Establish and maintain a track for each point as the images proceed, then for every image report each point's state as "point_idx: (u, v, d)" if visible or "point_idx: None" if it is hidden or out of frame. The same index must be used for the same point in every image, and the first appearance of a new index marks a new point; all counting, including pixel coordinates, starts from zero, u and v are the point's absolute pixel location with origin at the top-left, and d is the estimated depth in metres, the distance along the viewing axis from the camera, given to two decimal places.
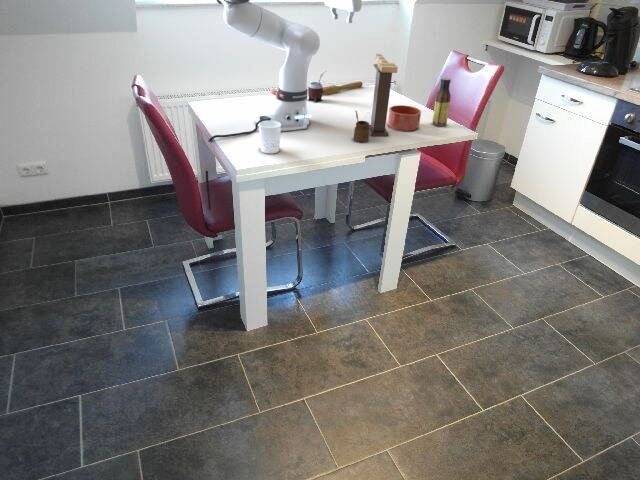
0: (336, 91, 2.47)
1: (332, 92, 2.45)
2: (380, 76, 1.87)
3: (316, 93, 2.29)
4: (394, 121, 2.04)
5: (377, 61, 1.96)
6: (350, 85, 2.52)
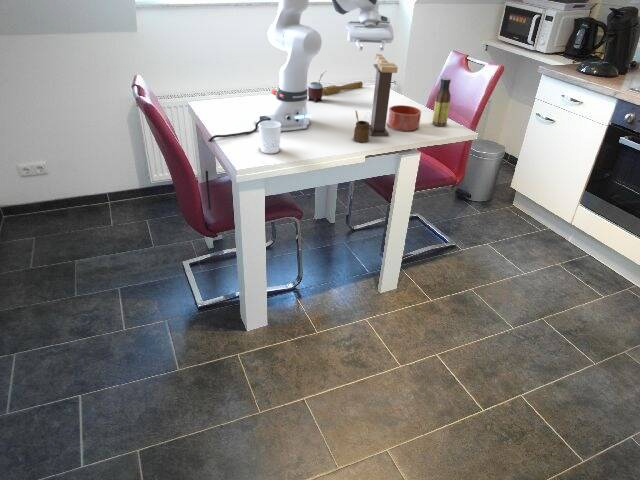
0: (336, 91, 2.47)
1: (332, 92, 2.45)
2: (380, 76, 1.87)
3: (316, 93, 2.29)
4: (394, 121, 2.04)
5: (377, 61, 1.96)
6: (350, 85, 2.52)
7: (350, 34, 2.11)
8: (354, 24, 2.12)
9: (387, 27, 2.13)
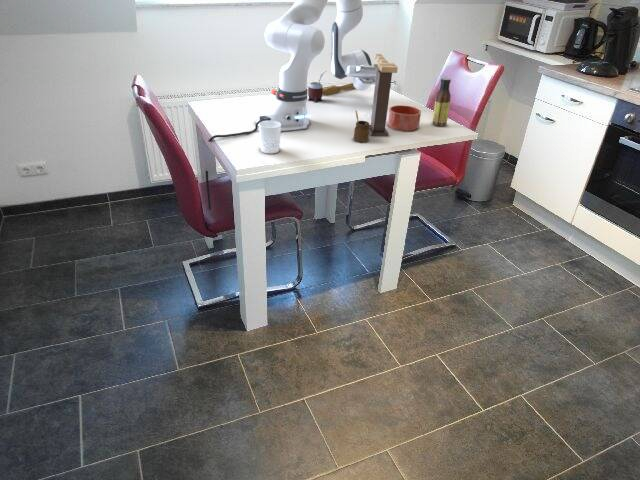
0: (336, 91, 2.47)
1: (332, 92, 2.45)
2: (380, 76, 1.87)
3: (316, 93, 2.29)
4: (394, 121, 2.04)
5: (377, 61, 1.96)
6: (350, 85, 2.52)
7: None
8: None
9: None
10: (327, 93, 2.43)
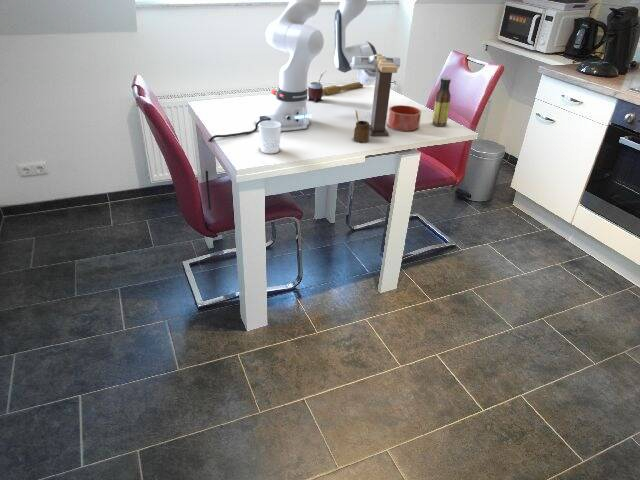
0: (337, 91, 2.46)
1: (333, 92, 2.45)
2: (380, 76, 1.87)
3: (316, 93, 2.29)
4: (394, 121, 2.04)
5: (377, 61, 1.96)
6: (351, 85, 2.52)
7: None
8: None
9: None
10: (327, 93, 2.43)
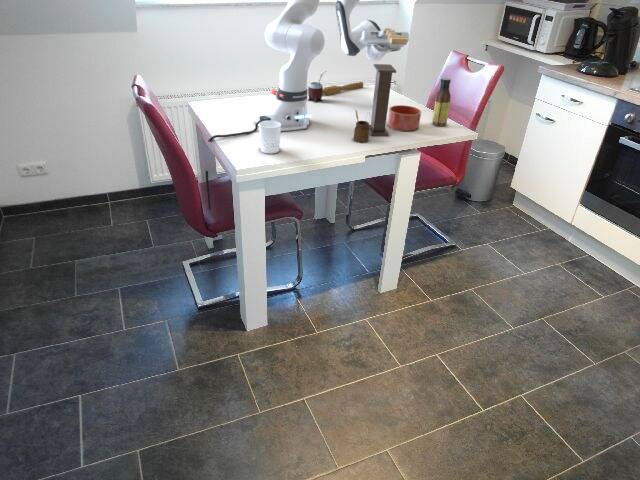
0: (337, 91, 2.46)
1: (333, 92, 2.45)
2: (380, 76, 1.87)
3: (316, 93, 2.29)
4: (394, 121, 2.04)
5: None
6: (351, 85, 2.52)
7: None
8: None
9: None
10: (328, 93, 2.43)
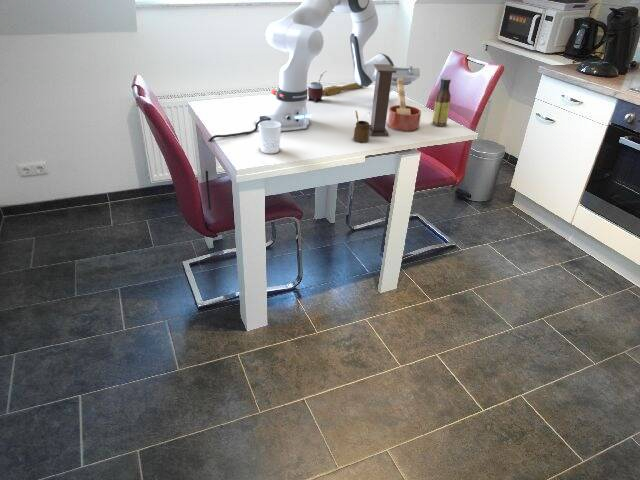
0: (337, 91, 2.46)
1: (333, 93, 2.45)
2: (380, 76, 1.87)
3: (316, 93, 2.29)
4: (394, 121, 2.04)
5: None
6: (351, 85, 2.52)
7: None
8: None
9: None
10: (328, 93, 2.42)
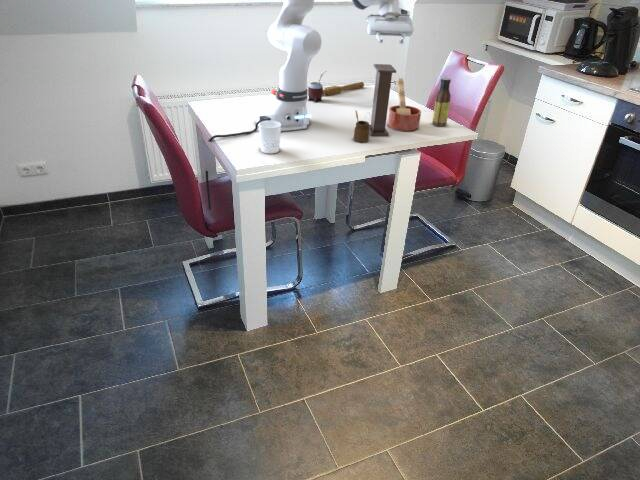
0: (338, 92, 2.46)
1: (334, 93, 2.44)
2: (380, 76, 1.87)
3: (316, 93, 2.29)
4: (394, 121, 2.04)
5: None
6: (352, 86, 2.52)
7: (370, 27, 2.12)
8: (374, 17, 2.13)
9: (407, 20, 2.14)
10: (328, 93, 2.42)
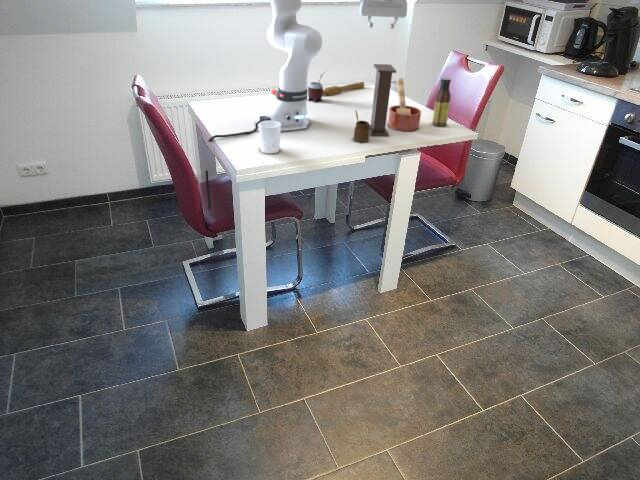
0: (338, 92, 2.46)
1: (334, 93, 2.44)
2: (380, 76, 1.87)
3: (316, 93, 2.29)
4: (394, 121, 2.04)
5: None
6: (352, 86, 2.52)
7: (362, 12, 2.05)
8: None
9: (401, 3, 2.04)
10: (329, 94, 2.42)
